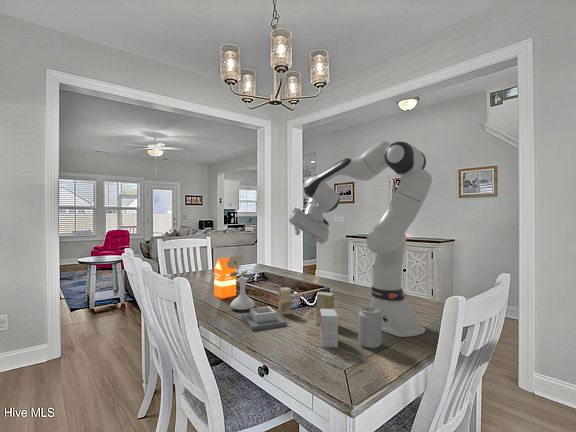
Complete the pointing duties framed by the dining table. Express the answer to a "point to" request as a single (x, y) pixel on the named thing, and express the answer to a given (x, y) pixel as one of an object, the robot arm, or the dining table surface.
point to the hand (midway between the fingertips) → (305, 239)
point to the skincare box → (324, 303)
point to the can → (370, 327)
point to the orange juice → (224, 279)
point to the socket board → (263, 318)
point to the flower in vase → (242, 300)
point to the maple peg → (284, 301)
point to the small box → (328, 328)
